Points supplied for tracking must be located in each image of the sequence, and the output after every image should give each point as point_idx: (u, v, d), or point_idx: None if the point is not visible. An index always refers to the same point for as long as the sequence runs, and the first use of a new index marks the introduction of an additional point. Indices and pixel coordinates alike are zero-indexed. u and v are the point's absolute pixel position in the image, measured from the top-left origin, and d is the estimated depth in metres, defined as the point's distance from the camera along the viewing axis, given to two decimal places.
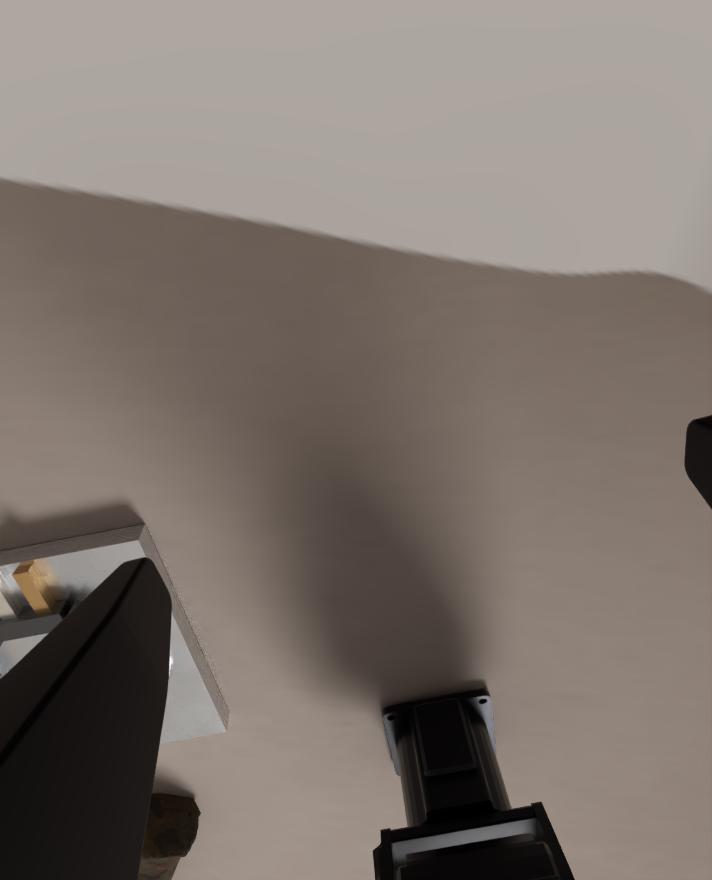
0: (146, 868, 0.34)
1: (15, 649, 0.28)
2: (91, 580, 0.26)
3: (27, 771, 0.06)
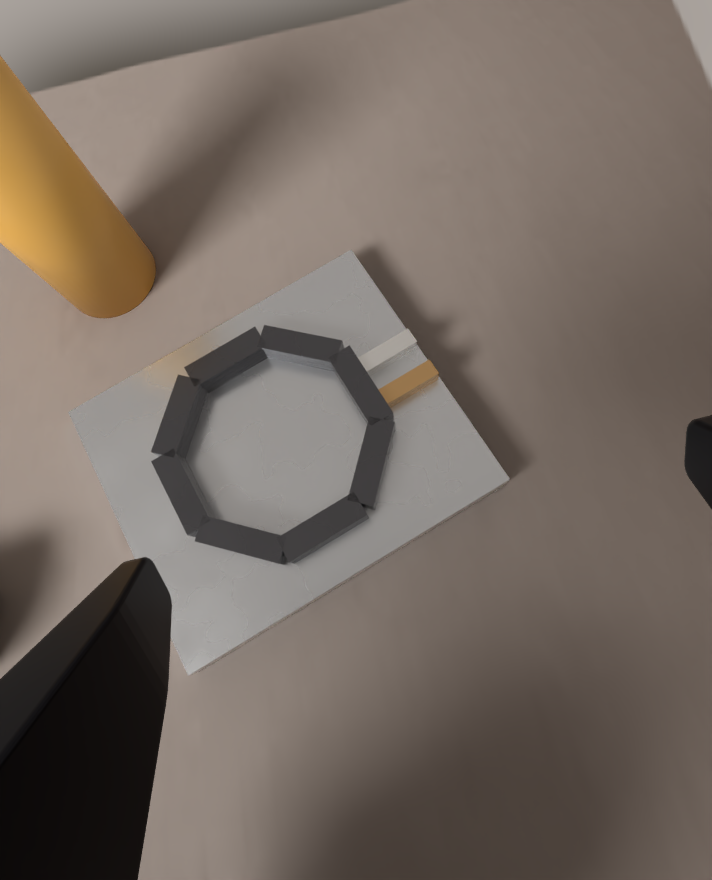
0: None
1: (294, 378, 0.23)
2: (430, 440, 0.22)
3: (27, 771, 0.06)
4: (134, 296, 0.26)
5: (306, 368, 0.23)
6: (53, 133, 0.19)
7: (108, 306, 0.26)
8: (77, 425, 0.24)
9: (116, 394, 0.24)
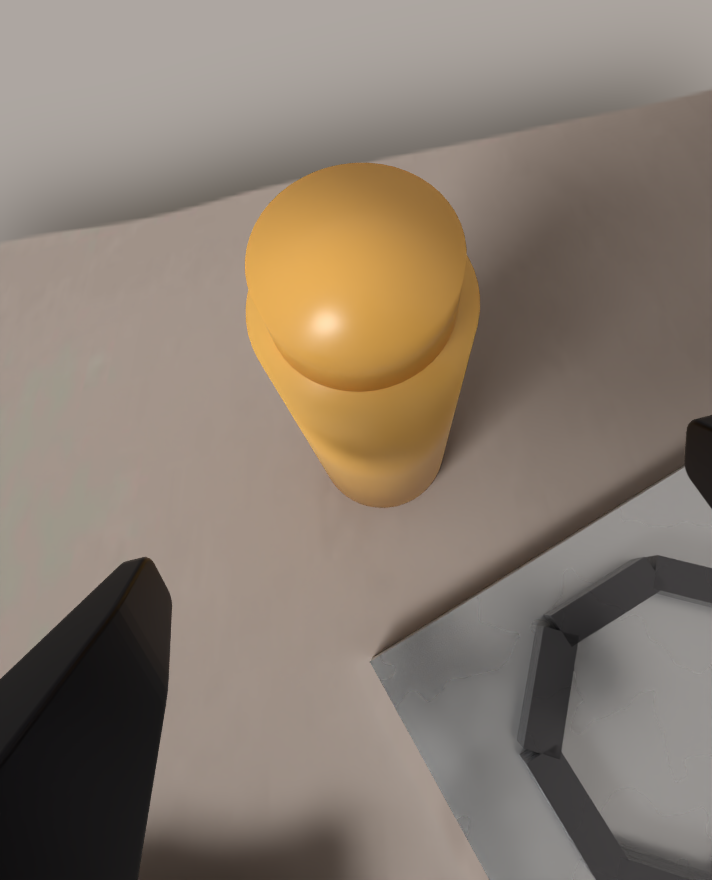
0: None
1: (691, 625, 0.17)
2: None
3: (27, 771, 0.06)
4: (428, 484, 0.20)
5: (705, 609, 0.17)
6: None
7: (399, 500, 0.19)
8: (386, 683, 0.17)
9: (436, 637, 0.18)
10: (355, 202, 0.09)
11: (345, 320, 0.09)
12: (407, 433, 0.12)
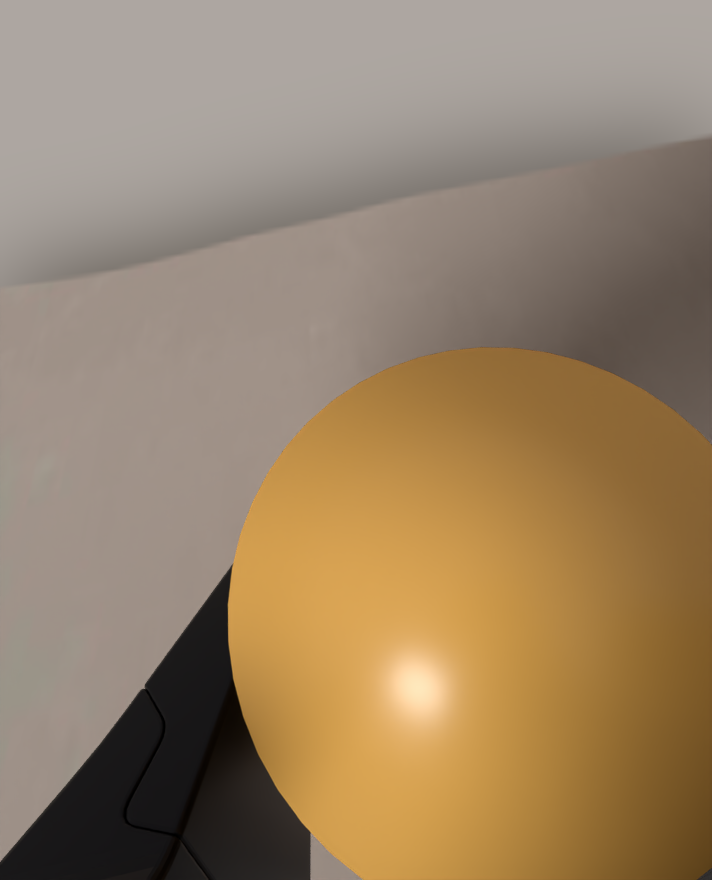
0: None
1: None
2: None
3: (241, 718, 0.06)
4: None
5: None
6: None
7: None
8: None
9: None
10: (493, 453, 0.04)
11: (490, 808, 0.03)
12: None
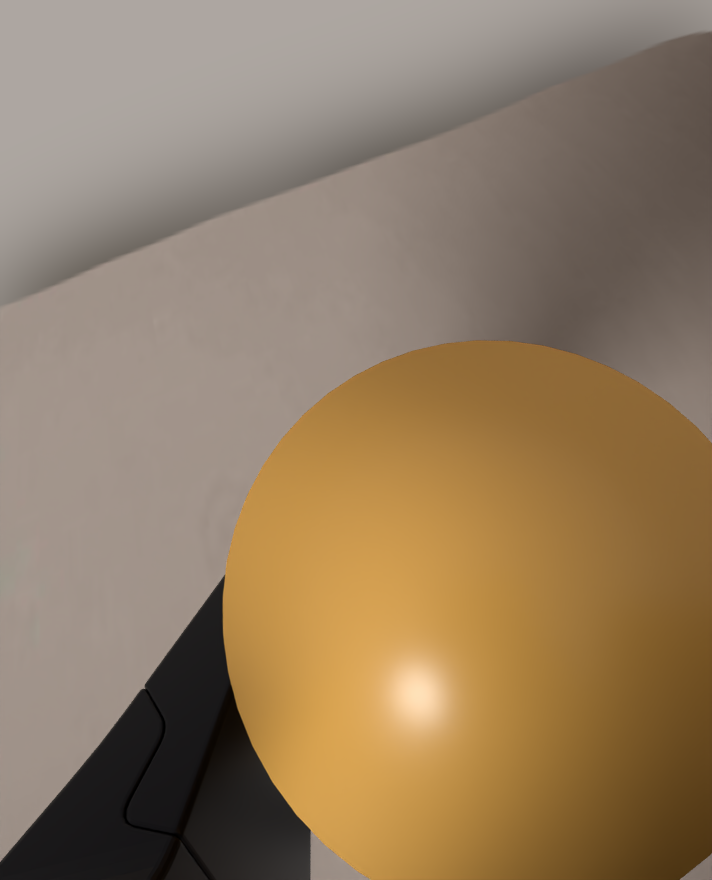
0: None
1: None
2: None
3: (241, 718, 0.06)
4: None
5: None
6: None
7: None
8: None
9: None
10: (488, 446, 0.04)
11: (485, 800, 0.03)
12: None
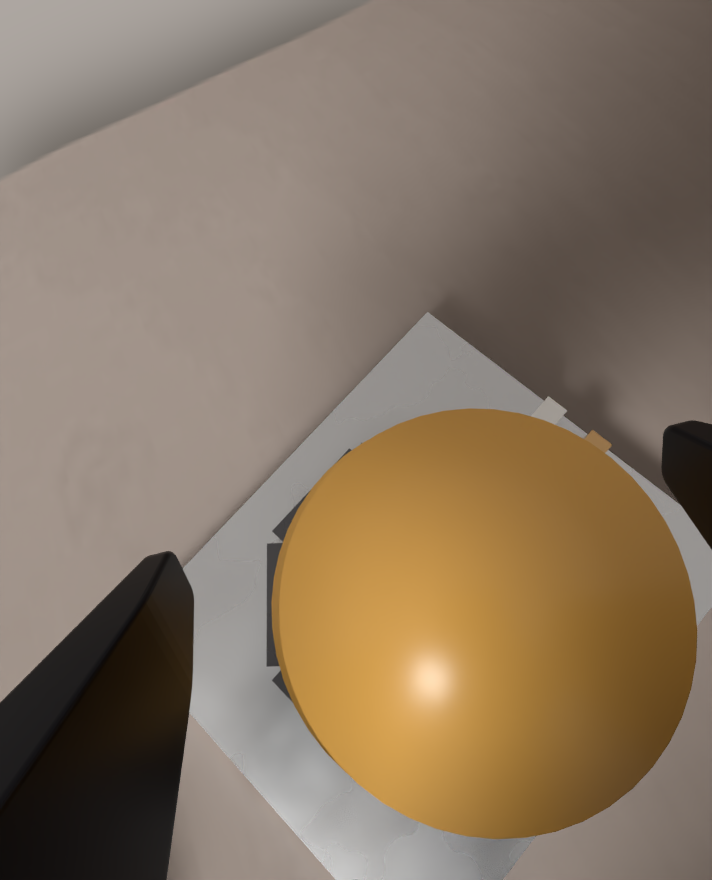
0: None
1: None
2: None
3: (64, 762, 0.06)
4: None
5: None
6: None
7: None
8: None
9: None
10: (477, 490, 0.05)
11: (473, 751, 0.05)
12: None
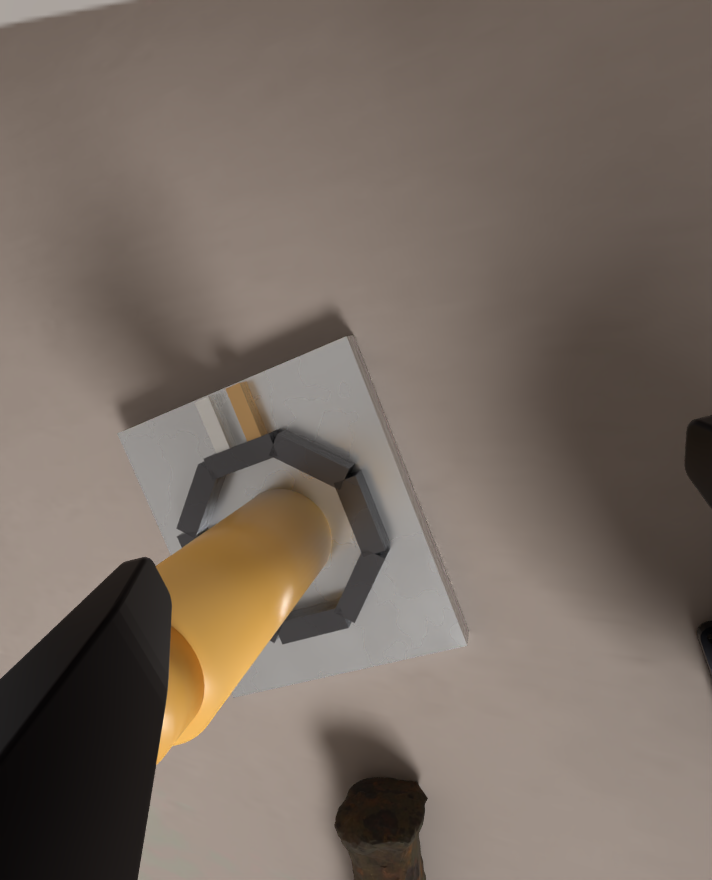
0: (371, 875, 0.25)
1: (229, 508, 0.26)
2: (300, 400, 0.24)
3: (27, 771, 0.06)
4: (323, 527, 0.24)
5: (221, 495, 0.26)
6: (200, 562, 0.17)
7: (325, 556, 0.24)
8: (245, 692, 0.28)
9: None
10: None
11: None
12: (249, 650, 0.17)
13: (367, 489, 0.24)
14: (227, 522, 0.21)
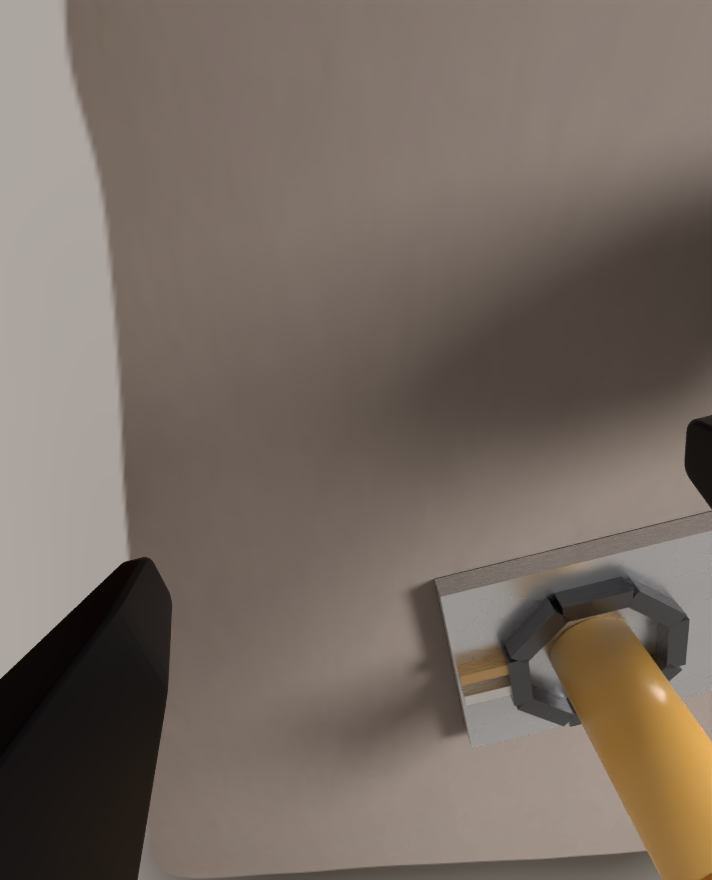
0: None
1: (554, 683, 0.30)
2: (483, 630, 0.28)
3: (27, 771, 0.06)
4: (596, 628, 0.27)
5: (543, 687, 0.30)
6: (645, 806, 0.22)
7: (622, 631, 0.27)
8: None
9: None
10: None
11: None
12: None
13: (573, 591, 0.27)
14: (592, 735, 0.25)
